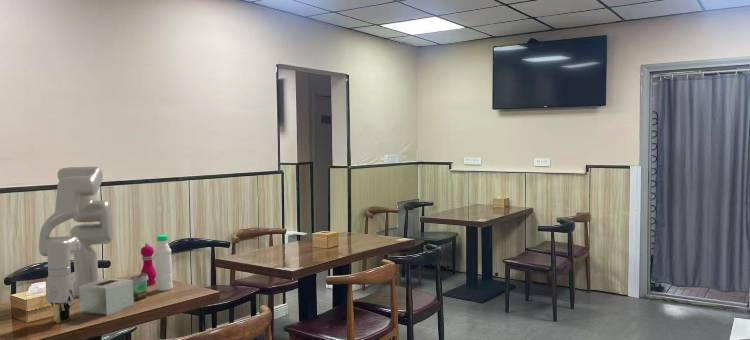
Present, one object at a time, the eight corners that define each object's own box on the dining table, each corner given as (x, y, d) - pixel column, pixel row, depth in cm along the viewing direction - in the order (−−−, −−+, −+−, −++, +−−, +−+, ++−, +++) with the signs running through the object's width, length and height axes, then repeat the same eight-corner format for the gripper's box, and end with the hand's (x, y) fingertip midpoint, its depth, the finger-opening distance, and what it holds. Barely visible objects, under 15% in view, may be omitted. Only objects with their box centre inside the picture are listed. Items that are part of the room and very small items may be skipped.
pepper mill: (151, 281, 281) (150, 241, 280) (159, 283, 276) (157, 242, 275) (137, 284, 275) (135, 243, 274) (145, 286, 271) (143, 244, 270)
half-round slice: (138, 302, 243) (137, 279, 242) (125, 302, 244) (124, 279, 243) (155, 295, 255) (154, 272, 254) (142, 294, 256) (141, 272, 256)
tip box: (80, 312, 230) (79, 285, 229) (108, 303, 243) (107, 277, 242) (106, 315, 225) (105, 288, 224) (133, 306, 238) (132, 279, 237)
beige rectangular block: (54, 322, 218) (53, 304, 218) (65, 318, 223) (64, 300, 222) (58, 323, 217) (57, 304, 217) (70, 319, 222) (69, 301, 221)
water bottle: (174, 287, 268) (172, 234, 267) (170, 291, 261) (167, 236, 260) (159, 287, 268) (157, 234, 267) (154, 291, 261) (151, 237, 260)
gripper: (35, 273, 219) (38, 320, 219) (66, 275, 213) (69, 324, 213) (53, 268, 226) (55, 315, 226) (83, 271, 220) (86, 318, 220)
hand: (62, 319), depth 220 cm, fingers closed on beige rectangular block, 2 cm apart
